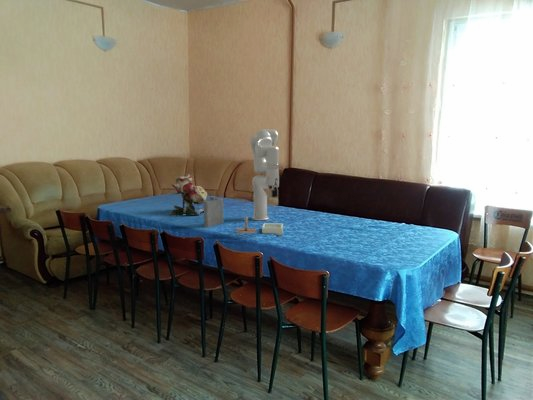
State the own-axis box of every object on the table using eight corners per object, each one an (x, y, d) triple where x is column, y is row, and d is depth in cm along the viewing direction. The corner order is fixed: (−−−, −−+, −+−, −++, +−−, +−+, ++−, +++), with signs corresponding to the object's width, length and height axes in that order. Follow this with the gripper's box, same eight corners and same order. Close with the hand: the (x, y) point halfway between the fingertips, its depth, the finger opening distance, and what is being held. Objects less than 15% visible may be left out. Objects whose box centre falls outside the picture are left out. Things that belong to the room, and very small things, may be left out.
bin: (264, 230, 282) (264, 223, 281) (282, 231, 281) (282, 223, 280) (262, 235, 270) (262, 227, 269) (281, 235, 269) (281, 228, 268)
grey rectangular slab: (206, 227, 291) (205, 198, 287) (202, 226, 293) (201, 197, 290) (224, 223, 302) (223, 195, 298) (220, 222, 305) (219, 194, 301)
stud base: (238, 230, 283) (238, 214, 281) (256, 230, 282) (256, 214, 280) (235, 234, 271) (235, 218, 270) (254, 235, 270) (254, 218, 269)
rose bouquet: (206, 216, 327) (205, 176, 321) (167, 216, 327) (165, 176, 322) (210, 209, 352) (210, 172, 347) (174, 209, 352) (173, 172, 347)
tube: (267, 204, 273) (267, 188, 271) (274, 203, 275) (274, 188, 274) (270, 205, 269) (270, 189, 267) (278, 205, 271) (278, 189, 269)
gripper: (261, 166, 274) (261, 194, 277) (273, 168, 259) (273, 198, 262) (272, 165, 277) (272, 193, 280) (284, 167, 262) (284, 197, 265)
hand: (272, 195), depth 271 cm, fingers closed on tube, 5 cm apart
